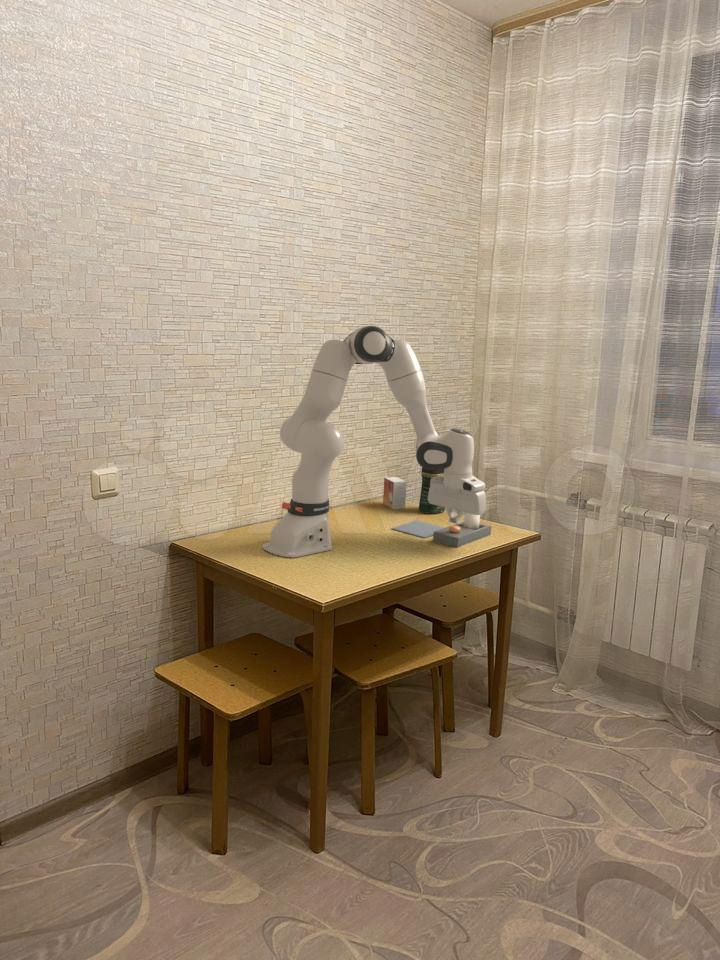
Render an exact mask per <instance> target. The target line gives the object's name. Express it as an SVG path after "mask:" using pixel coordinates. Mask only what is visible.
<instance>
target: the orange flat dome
mask: <svg viewBox="0 0 720 960" xmlns="http://www.w3.org/2000/svg"><path fill="white" fill-rule="evenodd" d="M452 525H453V526H452ZM452 525H449V526H448V527H449V532H452V533H459V532H460V529H461V527H460V526H454V525H455V524H452Z"/></svg>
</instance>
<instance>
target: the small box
mask: <svg viewBox="0 0 720 960" xmlns="http://www.w3.org/2000/svg"><path fill="white" fill-rule="evenodd" d="M383 478H384V479H383V494H382V495H383V496H382V497H383V498H382V505H384V506H386V507H388V508H389V509H391V510H401V509H403V510H404V509H405V508H406V504H407V503H406V499H407V486H408V485H407V482H408V481H407V480H403V479H402V478H400V477H398V476H391V477H390V476H388V477H387V476H386V477H383Z"/></svg>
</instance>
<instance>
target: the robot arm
mask: <svg viewBox="0 0 720 960" xmlns="http://www.w3.org/2000/svg"><path fill="white" fill-rule="evenodd" d="M313 363H314V364H313V366H312V369H311V372H310V376H309V380H308V382H307V386H306V388H305V392H304V394H303V396H302V399H301V401H300V402H299V404H298V406H297V407H296V409H295V410H294V411H293V413H292V415H291V416H290V417H289V418H287V419H285V420H284V421H283V423H282V424H281V427H280V428H279V429H280V430H279V436H280V437H279V438H280V440H281V442H282V443H283V444H284V446H286V447H287V448H289V449H290V451H293V452H296V453H298V454H301V458H300V461H299V462H300V463H299V466H298V467H297V469H296V470H295V471H294V472H293V473H292V479H291V480H292V487H291V499H290V501H289V502H286V501H283V502H282V503H281V508H282V509H285V510H287V512H286V513H285V514H284V516H283V517H282V518H281V519H280V520H279V521H278V522H277V523H276V524H275V525H274V526H273V527H272V529H271V532H270V537H269V541H268V542H265V543H263V544H262V549H263V550H264V551H265V550H266V552H267V551H268V552H267V553H269V552H270V554H272V553H273V554H272V555H275V556H278V555H279V557H284V558H290V557H291V559H293V558H298V557H303V556H308V555H314V554H317V553H322V552H323V553H324V552H328V551H332V550H333V540H332V537H331V528H330V521H329V512H330V500H329V480H330V479H329V477H330V473H331V470H332V466H333V463H334V460H335V459H336V458H337V457H339V455H340V454H341V453H342V451H343V449H344V446H345V445H344V444H345V439H344V435H343V434H342V431H340V429H338V428H337V427H335V426H334V425H332V424H331V423H329V422H326V421H327V419H328V418H329V416H330V415H331V414H332V413H333V411H336V410H337V409H338V408H339V407H340V405H341V403H342V399H343V396H344V392H345V390H346V389H345V388H346V386H347V385H346V384H347V383H348V378H349V374H350V371H351V370H352V368H353V366H354V365H369V364H370V365H372V364H373V363H375V364H378V365H379V366H380V367H381V368H382V370H383V372H384V376H385V378H386V381H387V383H388V386H389V389H390V391H391V393H392V395H393V396H394V398H395V400H396V401H397V402H398V403H399V404H400V405H401V406H403V408H404V409H405V410H406V412H407V413H408V415H409V418H410V420H411V423H412V426H413V429H414V432H415V434H416V447H415V448H416V453H415V459H416V461H417V464H419V466H420V467H421V468H422V467H423V468H425V469H428V470H434V469H443V468H444V478H443V477H438V476H434V477H433V478H434V479H433V478H431V480H430V488H429V493H428V502H429V503H430V504H433V505H437V506H441V507H445V509H446V512H447V515H448V517H449V519H448V522H449V523H453V524H459V523H461V522H460V521H461V518H462V516H463V515H464V514H465V512H466V513H470V514H474V515H480V516H481V515H483V514H484V513H485V512H486V506H487V495H486V492H485V491H484V490H485V489H486V483H485V482H484V481H482V480H480V479H479V478H477V477H476V476H475V475H473V468H472V467H473V461H474V455H475V440H474V437H473V435H472V434H471V433H470V432H469V431H466V430H463V429H458V428H451V429H449V430H448V431H446V432H444V433H442V434H439V432H438V431H437V429H436V428H435V425H434V423H433V419H432V418H431V414H430V411H429V409H428V404H427V388H426V383H425V377H424V373H423V369H422V368H421V365H420V363H419V360H418V358H417V355H416V354H415V352H414V349H413V348H412V345H410V343H409V342H408V341H407V340H404V339H393V338H392V337H391V336H390V335H389V334H387V332H385V331H384V329H382V328H381V327H378V326H375V325H367V326H362V327H360V328H357V329H355V330H354V331H353V332H350V333H349V335H347V337H346V338H345V339H344V340H343V341H342V340H340V339H329V340H327V341H325V342H324V343H323V344H322V345H321V348H320V349H319V352H318V353H317V356H316V358H315V361H314V362H313ZM454 511H456V512H455V513H456V515H455V513H454Z"/></svg>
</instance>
